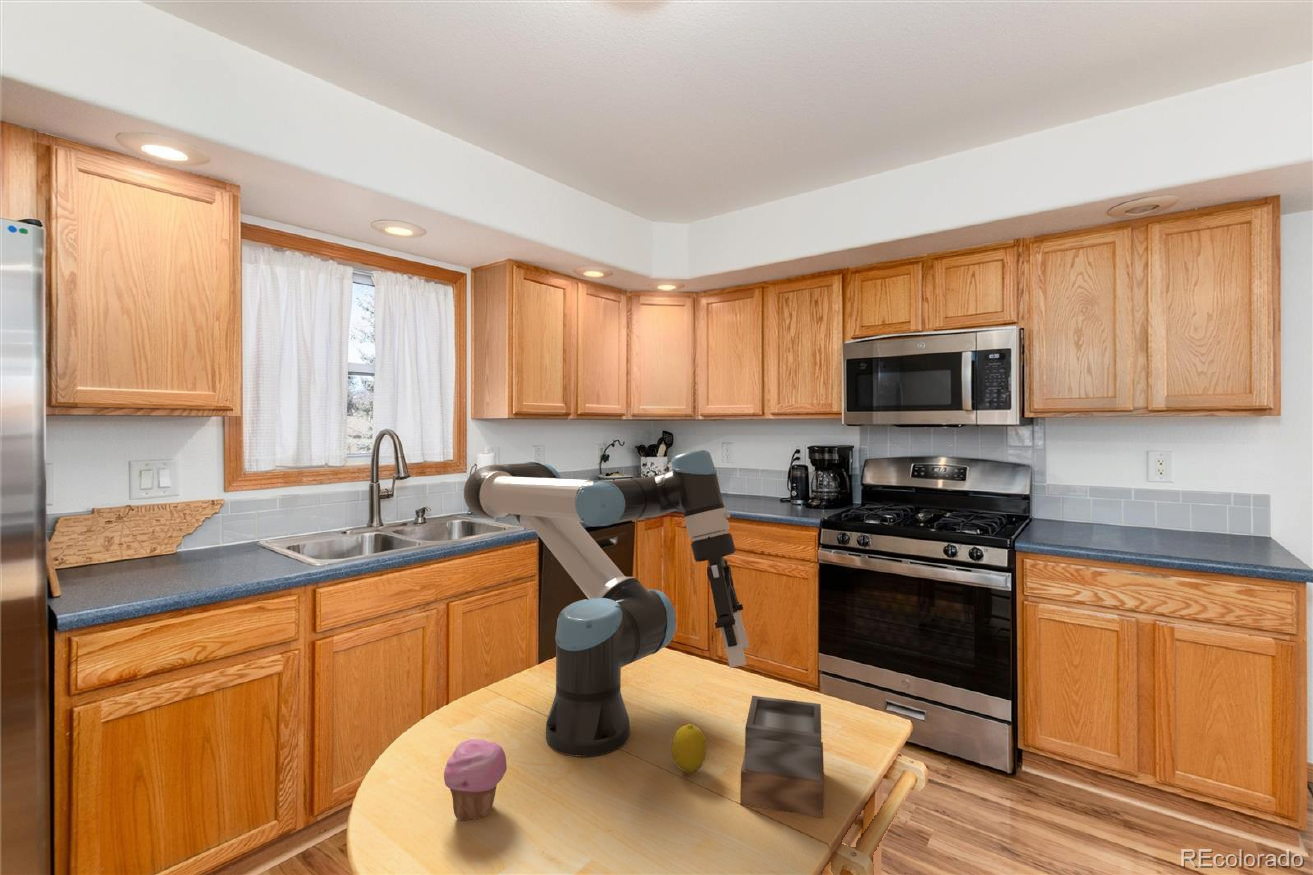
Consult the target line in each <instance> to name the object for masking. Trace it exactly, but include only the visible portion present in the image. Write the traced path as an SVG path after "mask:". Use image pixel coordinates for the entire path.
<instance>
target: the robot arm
mask: <svg viewBox="0 0 1313 875" xmlns="http://www.w3.org/2000/svg"><path fill="white" fill-rule="evenodd" d="M670 461H671V470H669V471H665V472H662V473H660V474H656V475H651V476H646V477H644V476H643V477H636V478H626V479H614V480H600V479H593V480H592V479H575V478H562V476H561V474H560V473H559V472H558V471H557V469H556V468H555V467H553V466H552V465H550V464H548V463H546V462H537V461H528V462H524V463H522V462H521V463H505V464H504V463H503V464H502V463H501V464H488V465H485V466H483V467H482V466H481V467H480V468H477V469H476V470H475V471H474V472H472V473H471V474H470V476H468V477H467V480H466V482H465V484H464V487H463V498H464V502H465V504H466V506H467V508H469V510H470V511H471V512H472V513H474V514H476V515H477V516H479V517H482V518H487V519H488V518H497V519H498V518H500V519H501V518H504V517H507V516H508V517H511V516H513V517H514V518H515V519H516V520H517V522H518V523H519V524H520V526H522V528H524V529H527V530H533V531H534V532H535V533H536V534H537V536H538V537H539V538H540V540H541V541H542V542H543V544H545V546H546V547H547V548H548V549H549V550H550V552H551V553H552V554H553V556H554V558H556V560H557V561H558V563H560V565H561V566H562V567H563V568H564V570H565V571H566V572H567V573H568V575H569V576H570V577H571V579H572V580H573V582H575V584H576V585H577V586H578V587H579V589H580V590H581V591H582V593H583V594H584V595H585V596H586V597H587V599H581V600H578V601H574V602H572V603H571V604H568V605H567V606H566V607H564V608H563V609H561V611H560V613H559V615H558V617H557V620H556V622H557V623H556V631H555V637H554V638H555V639H554V640H555V695H554V698H553V701H552V704H551V707H550V711H549V714H548V716H547V718H546V722H545V741H546V743H547V745H548V746H549V747H550V748H551V749H553V750H554V751H556V752H558V753H561V754H565V755H569V756H575V757H593V756H594V757H595V756H601V755H605V754H608V753H611V752H613V751H616V750H618V749H619V748H621V747H622V746H624V745H625V744H626V743H627V742H628V740H629V739H630V738H629V737H630V733H631V732H630V731H631V730H630V729H631V727H630V726H631V722H630V717H629V715H628V711H627V708H626V704H625V702H624V699H623V696H622V692H621V691H622V690H621V681H622V680H621V677H622V674H621V673H622V672H621V671H622V670H621V669H622V668H623V667H625V666H628V665H630V664H632V663H634V662H637V661H639V660H641V659H643V658H645V657H648V656H650V655H655V654H656V653H658V652H659V651H660V650H662V649H663V648H665V647H667V646H668V645H669V644H670V643H671V642H672V640H673V638H674V635H675V634H676V630H677V621H676V618H677V615H676V610H675V607H674V605H673V603H672V600H671V599H670V598H669V597H668V596H667V595H666V594H665V593H664V592H663V591H660V590H657V589H656V590H655V589H652V588H651V589H648V590H647V589H646V587H644V585H643V584H642V582H640V581H639V579H638V578H636V577H635V576H625V575H624V573H623V572H622V571H621V570H620V568H618V566H617V565H616V564H615V563H614V562H613V560H612V559H611V558H610V557H609V556H608V555H607V553H606V552H605V551H604V550H603V549H602V548H601V546H600V545H599V544H598V542H596V541H595V540H594V538H593V537H592V536H591V535H590V533H589V532H588V531H587V530H586V528H584V526H583V525H582V524H581V523H580V522H579V521H582V522H583V523H584V524H585V525H586V526H590V527H608V526H611V525H615V524H619V523H623V522H624V523H625V522H629V521H635V520H639V521H642V520H649V519H655V518H657V517H659V516H663V515H666V514H670V513H672V512H675V511H680V510H682V512H683V513H682V514H683V517H684V522H685V527H686V531H687V536H688V538H689V539H692V541H691V543H690V545H691V550H692V555H693V559H694V561H695V562H696V563H701V562H706V561H708V566H707V567H706V574H707V578H708V580H709V585H710V589H711V593H712V599H713V603H714V608H715V615H716V622H714V626H715V629H720V633H721V637H722V640H723V641H722V642H723V644H724V648H725V653H726V655H727V656H726V657H727V660H728V665H729V668H730V669H732V668H736V667H741V666H746V665H747V661H746V660H747V659H746V656H745V653H744V649H749V648H750V644H749V640H748V637H747V632H746V629H745V625H744V622H743V617H742V613H741V611H743V610H744V607H743V604H742V603H740V601H739V600H738V596H737V592H736V590H735V586H734V585H735V584H734V579H733V573H732V568H731V565H730V564H729V565H728V563H729V562H728V560H727V558H724V557H726V556H730V555H733V554H735V552H736V550H737V549H736V546H735V541H734V538H733V535H732V533H731V532H729V533H728V531H729V530H730V524H729V521H728V519H729V518H731V513H730V512H726V508H725V504H724V501H723V497H722V493H721V488H720V483H719V480H718V479H719V478H718V471H717V470H716V468H715V463H714V462H713V458H712V455H711V453H710V452H709V451H708V450H705V449H699V450H692V451H688V452H684V453H680V454H678V455H675V456H673V457H672V459H671V460H670Z"/></svg>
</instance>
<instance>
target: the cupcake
mask: <svg viewBox="0 0 1313 875" xmlns="http://www.w3.org/2000/svg"><path fill="white" fill-rule="evenodd" d="M507 769H508V766H507V757H506V752H505V751H504V749H503V747H502V746H501V745H500V744H499V743H497V742H494V741H490V740H486V739H483V738H472V739H468V740H465V741H462V742H460V743H459V744H458V745H457V746H456V747H455V750H453V752H452V754H451V755H450V756H449V757H448V759H447V762H446V764H445V767H444V772H443V780H444V785H445V786H446V787H447V788H448V789H449V791H450V793H451V797H452V806H453V807H452V808H453V814H454V817H455V818H456V819H458V820H459V821H468V819H470V820H474V818H475V819H480V818H483V817H485V816H487V815H488V814H489V813H490V812H491V811H492V808H493V806H494V802H495V796H496V790H497V785H498V784H499V783H500V782H501V781H502V780H503V777H504V775H505V774H506V772H507Z"/></svg>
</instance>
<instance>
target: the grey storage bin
mask: <svg viewBox="0 0 1313 875" xmlns="http://www.w3.org/2000/svg"><path fill="white" fill-rule="evenodd" d="M821 706H822V705H821V703H818V702H817V703H816V702H810V701H809V702H808V701H800V700H791V699H781V698H775V697H766V696H760V695H759V696H758V695H751V700H750V704H749V710H748V712H747V713H748V714H747V718H746V724H745V728H744V730H745V732H744V733H745V734H744V754H743V759H742V764H741V770H740V789H739V790H740V794H739V795H740V798H739V799H740V800H739V801H740V802H739V803H740V805H743V806H744V805H745V806H749V807H750V806H751V807H756V808H761V809H762V808H763V809H769V810H774V811H780V812H786V813H794V814H799V815H804V816H805V815H806V816H809V817H811V816H812V817H817V818H822V819H823V818H824V805H825V804H824V803H825V800H824V799H825V769H824V766H825V765H824V742H822V738H823V737H822V710H821V709H822V707H821Z"/></svg>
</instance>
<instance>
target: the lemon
mask: <svg viewBox="0 0 1313 875" xmlns="http://www.w3.org/2000/svg"><path fill="white" fill-rule="evenodd" d="M671 746H672V747H671V748H672V749H671V750H672V751H671V752H672V754H671V755H672V759H673V761H674V764H675V765H676V766H677V767H678V768H679V769H680V770H682V771H684V772H686V774H691V773H692V772H695V771H697V770H699V769H700V768H701V767H702V766H703V765H704V763H705V760H706V756H707V743H706V737H705V736H704V734H703V732H702V730H701V729H700V728H699V727H697V726H696V725H693V724H691V723H688V724H686V725H682V726H681V727H679V728H678V729H677V731H676V732H675V734H674V737H673V739H672V745H671Z"/></svg>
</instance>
